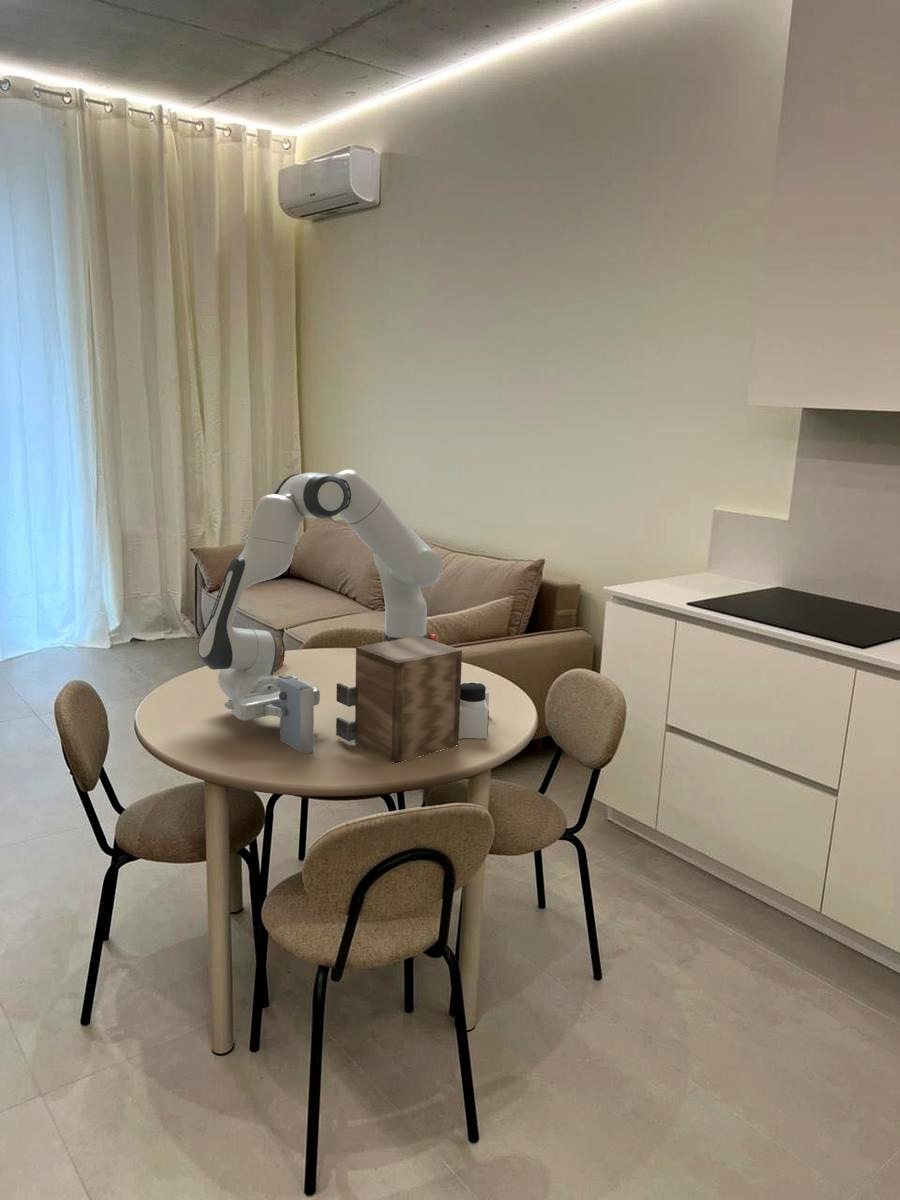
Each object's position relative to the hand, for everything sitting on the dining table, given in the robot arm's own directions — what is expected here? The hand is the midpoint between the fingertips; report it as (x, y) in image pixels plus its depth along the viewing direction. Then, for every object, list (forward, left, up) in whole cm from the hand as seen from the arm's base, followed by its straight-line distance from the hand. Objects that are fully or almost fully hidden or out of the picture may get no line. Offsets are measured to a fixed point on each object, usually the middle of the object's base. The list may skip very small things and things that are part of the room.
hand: (294, 711), depth 195 cm
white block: (-45, +8, -8) cm, 46 cm away
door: (0, +2, -8) cm, 8 cm away
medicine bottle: (-36, +18, -8) cm, 41 cm away
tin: (-24, -52, -8) cm, 58 cm away
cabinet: (-19, +13, -8) cm, 24 cm away
